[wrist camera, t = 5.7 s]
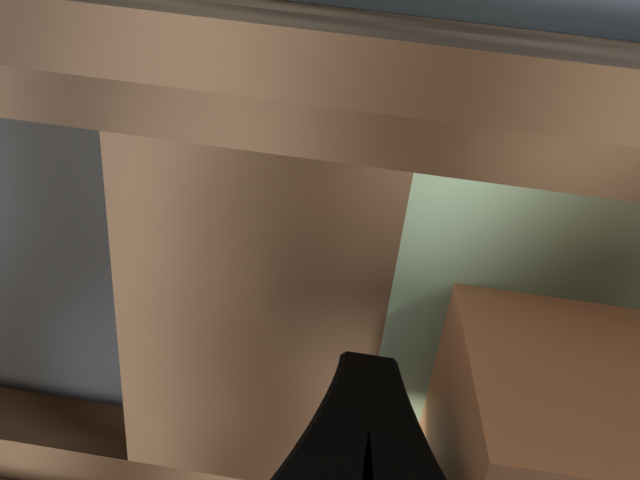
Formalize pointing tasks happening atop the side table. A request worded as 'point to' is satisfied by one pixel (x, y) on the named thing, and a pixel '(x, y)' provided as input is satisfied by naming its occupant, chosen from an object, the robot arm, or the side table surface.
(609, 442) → the terracotta block
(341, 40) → the trap lane
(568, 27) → the side table surface
